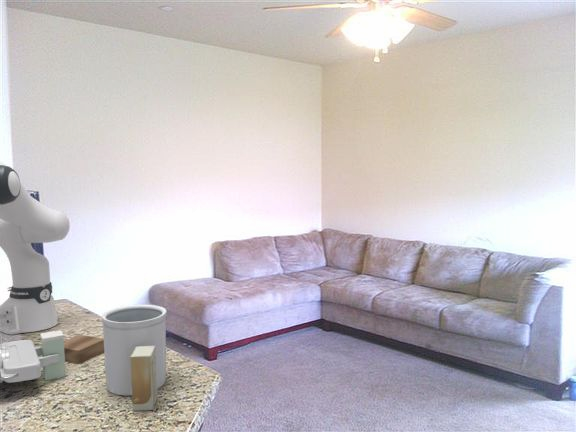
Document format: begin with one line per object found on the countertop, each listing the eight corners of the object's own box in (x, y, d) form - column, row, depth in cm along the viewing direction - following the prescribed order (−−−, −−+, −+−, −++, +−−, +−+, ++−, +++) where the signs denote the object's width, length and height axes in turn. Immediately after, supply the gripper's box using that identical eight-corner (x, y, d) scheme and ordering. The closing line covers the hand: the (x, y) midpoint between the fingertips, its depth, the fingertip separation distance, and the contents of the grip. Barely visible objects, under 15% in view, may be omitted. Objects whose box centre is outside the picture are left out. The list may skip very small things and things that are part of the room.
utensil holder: (180, 375, 126) (178, 306, 124) (145, 401, 112) (142, 324, 110) (130, 368, 130) (127, 302, 129) (91, 392, 116) (87, 318, 115)
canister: (45, 380, 123) (42, 338, 123) (42, 374, 128) (40, 333, 127) (66, 376, 126) (63, 335, 125) (63, 370, 130) (61, 330, 129)
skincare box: (138, 398, 113) (136, 345, 112) (158, 397, 114) (155, 344, 112) (132, 412, 107) (129, 356, 106) (152, 411, 107) (150, 355, 106)
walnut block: (52, 360, 138) (51, 346, 138) (80, 348, 147) (79, 334, 147) (79, 365, 134) (78, 350, 134) (106, 352, 143) (106, 338, 143)
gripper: (-6, 366, 110) (62, 353, 118) (-9, 340, 128) (50, 330, 135) (-4, 394, 111) (64, 379, 118) (-8, 364, 128) (52, 353, 136)
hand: (57, 353), depth 127 cm, fingers closed on canister, 5 cm apart
